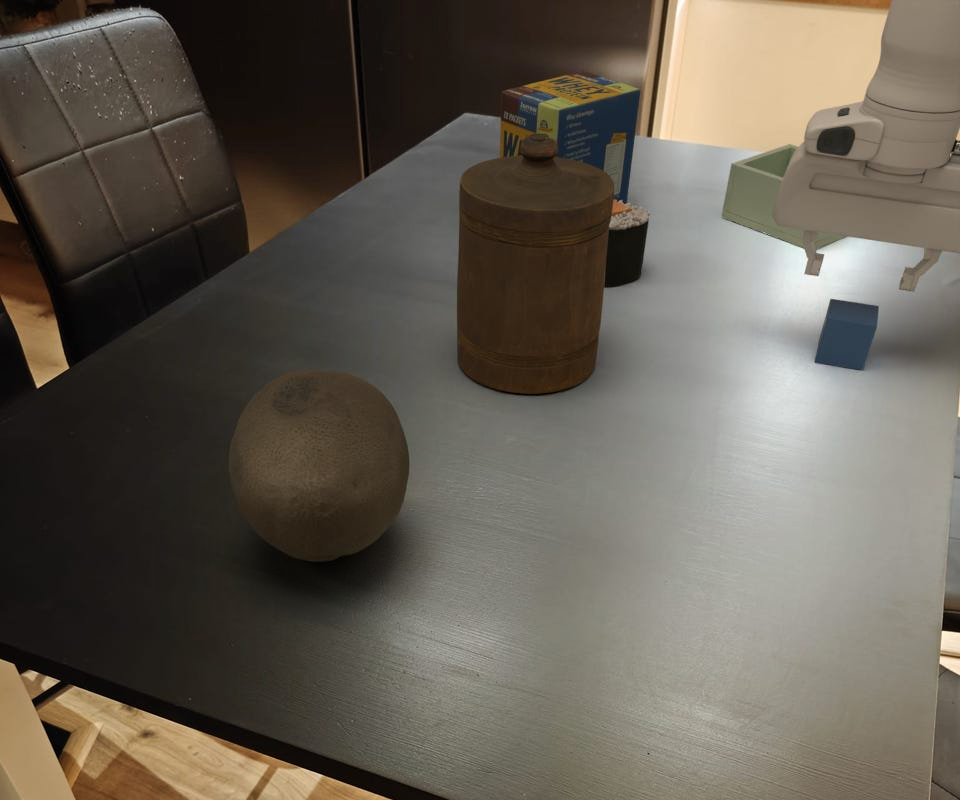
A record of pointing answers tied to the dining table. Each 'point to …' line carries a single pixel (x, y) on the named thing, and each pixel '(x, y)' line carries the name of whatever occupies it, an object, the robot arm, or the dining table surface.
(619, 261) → the sushi
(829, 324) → the block
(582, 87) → the protein box
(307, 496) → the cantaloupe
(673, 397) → the dining table surface
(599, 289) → the wooden container
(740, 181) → the green storage bin
